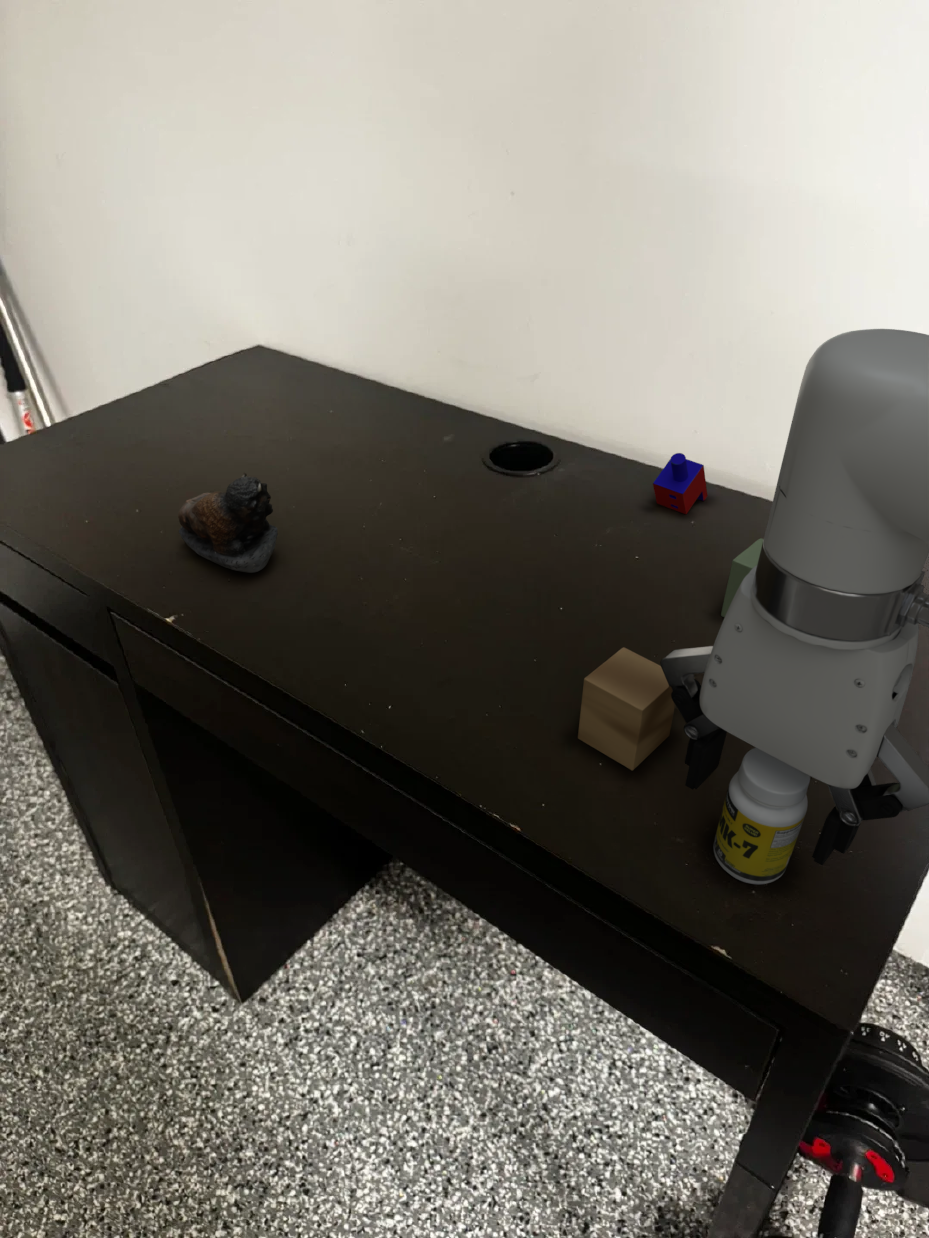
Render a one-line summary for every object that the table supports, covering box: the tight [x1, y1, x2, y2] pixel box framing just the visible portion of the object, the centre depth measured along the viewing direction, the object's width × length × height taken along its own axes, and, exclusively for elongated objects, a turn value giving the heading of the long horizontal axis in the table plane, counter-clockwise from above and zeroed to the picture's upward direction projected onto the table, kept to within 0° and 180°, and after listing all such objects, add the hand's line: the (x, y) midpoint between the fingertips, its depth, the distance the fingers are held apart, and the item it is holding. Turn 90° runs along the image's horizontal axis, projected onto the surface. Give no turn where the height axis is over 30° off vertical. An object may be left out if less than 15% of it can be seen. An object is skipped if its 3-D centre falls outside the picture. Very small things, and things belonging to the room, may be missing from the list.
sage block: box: [720, 537, 764, 618], centre depth 78 cm, size 5×5×6 cm
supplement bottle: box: [713, 747, 811, 885], centre depth 56 cm, size 5×5×8 cm
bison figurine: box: [177, 472, 278, 574], centre depth 85 cm, size 12×7×10 cm, turn 50°
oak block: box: [577, 646, 676, 771], centre depth 66 cm, size 5×5×6 cm
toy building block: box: [652, 452, 708, 515], centre depth 94 cm, size 4×4×8 cm
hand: (762, 810), depth 56 cm, fingers open, 8 cm apart
